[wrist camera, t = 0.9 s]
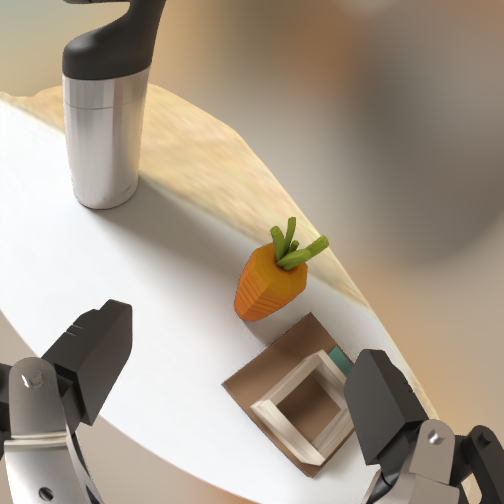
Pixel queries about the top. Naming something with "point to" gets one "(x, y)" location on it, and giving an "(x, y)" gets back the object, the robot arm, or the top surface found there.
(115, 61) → the robot arm
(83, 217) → the top surface
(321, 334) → the socket board
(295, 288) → the carrot
